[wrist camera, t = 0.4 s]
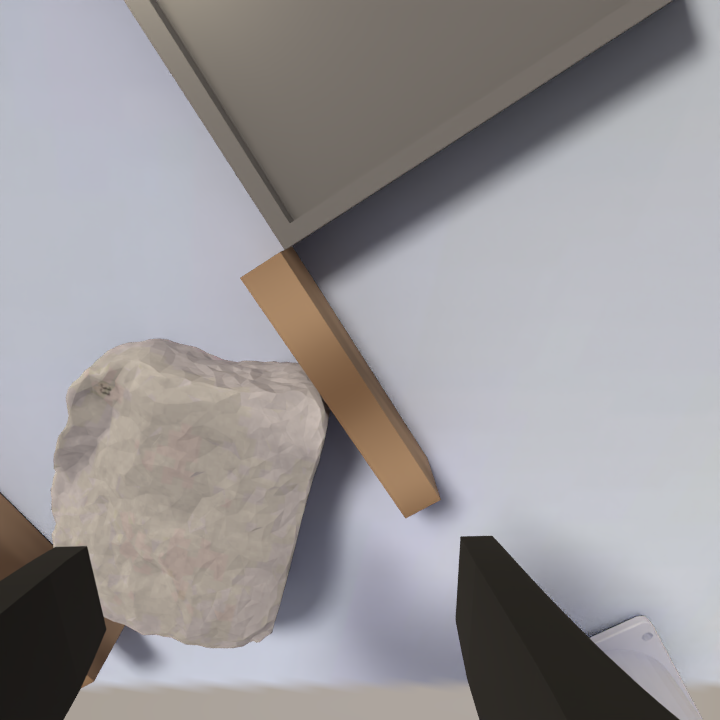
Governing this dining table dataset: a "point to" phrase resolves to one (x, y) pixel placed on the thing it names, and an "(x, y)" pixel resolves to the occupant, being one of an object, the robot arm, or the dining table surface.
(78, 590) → the robot arm
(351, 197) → the tray
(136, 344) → the stone block
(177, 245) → the dining table surface
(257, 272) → the pair of wooden bars
